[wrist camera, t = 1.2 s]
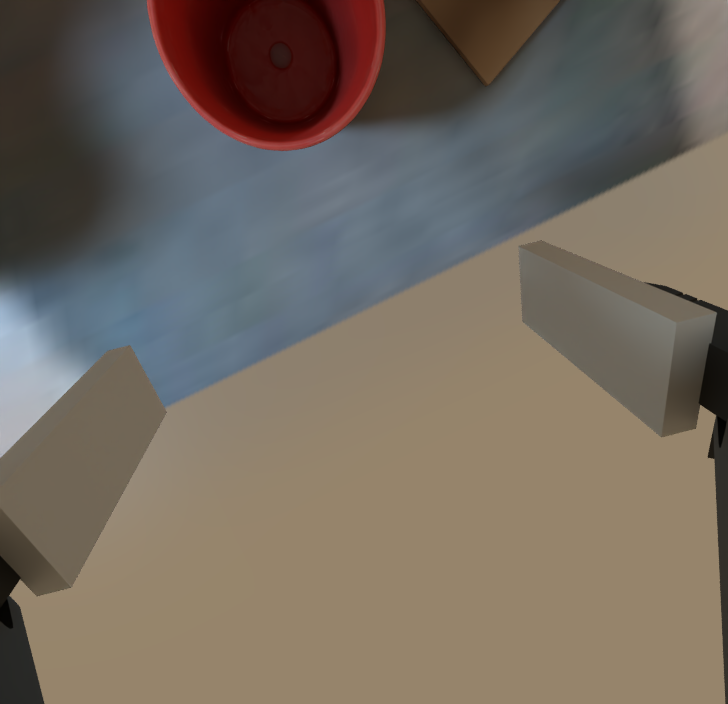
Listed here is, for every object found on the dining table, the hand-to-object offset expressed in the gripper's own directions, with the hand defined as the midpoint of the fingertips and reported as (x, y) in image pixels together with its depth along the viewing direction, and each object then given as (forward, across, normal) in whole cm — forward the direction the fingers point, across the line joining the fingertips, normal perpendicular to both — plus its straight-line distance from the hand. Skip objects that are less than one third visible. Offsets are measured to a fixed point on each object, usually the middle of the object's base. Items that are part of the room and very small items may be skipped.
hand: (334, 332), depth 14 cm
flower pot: (+22, 0, +11) cm, 24 cm away
